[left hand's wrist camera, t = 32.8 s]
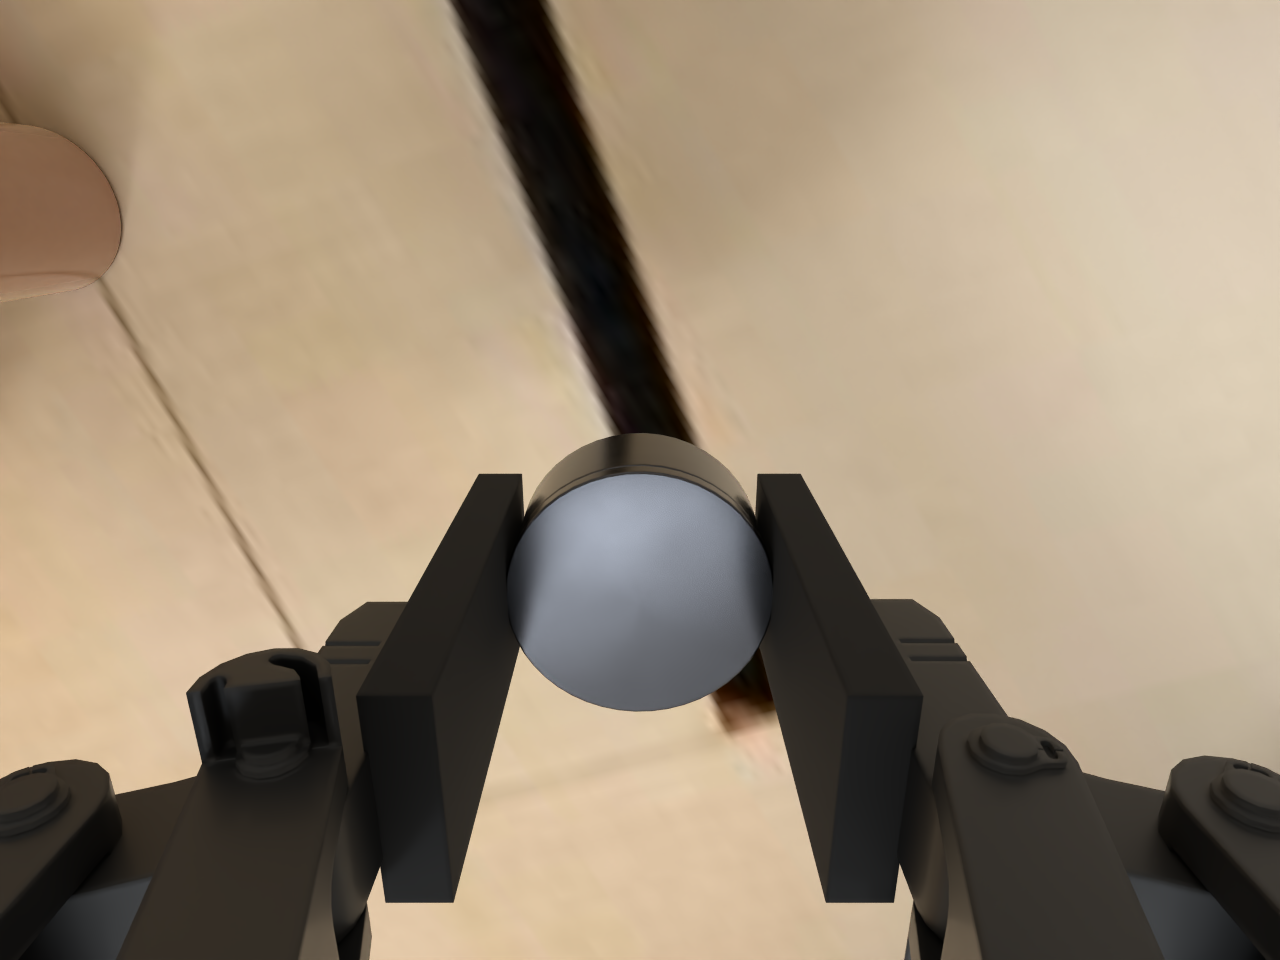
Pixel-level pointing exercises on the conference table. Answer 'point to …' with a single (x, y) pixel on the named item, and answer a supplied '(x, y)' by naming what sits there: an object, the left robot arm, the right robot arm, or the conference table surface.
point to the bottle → (52, 215)
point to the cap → (639, 574)
